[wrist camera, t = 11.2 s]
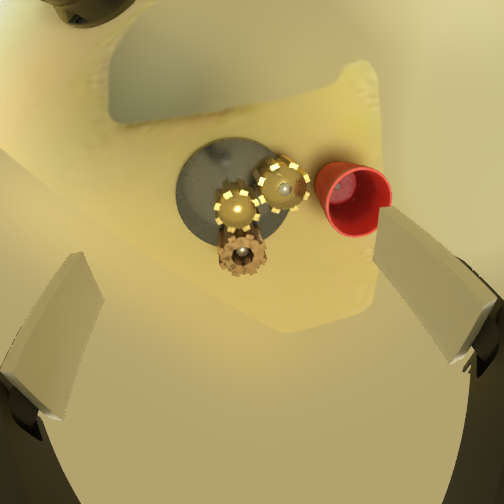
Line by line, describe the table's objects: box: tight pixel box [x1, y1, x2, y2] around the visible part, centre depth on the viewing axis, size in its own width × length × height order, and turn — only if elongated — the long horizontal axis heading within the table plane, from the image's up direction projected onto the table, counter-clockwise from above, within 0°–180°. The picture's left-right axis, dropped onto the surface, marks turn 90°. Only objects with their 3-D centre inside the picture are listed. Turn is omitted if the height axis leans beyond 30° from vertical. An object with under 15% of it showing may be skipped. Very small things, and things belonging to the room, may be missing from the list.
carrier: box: [176, 138, 310, 256], centre depth 39 cm, size 18×20×8 cm
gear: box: [217, 223, 267, 277], centre depth 42 cm, size 7×7×6 cm
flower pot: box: [315, 162, 392, 237], centre depth 39 cm, size 11×11×10 cm
